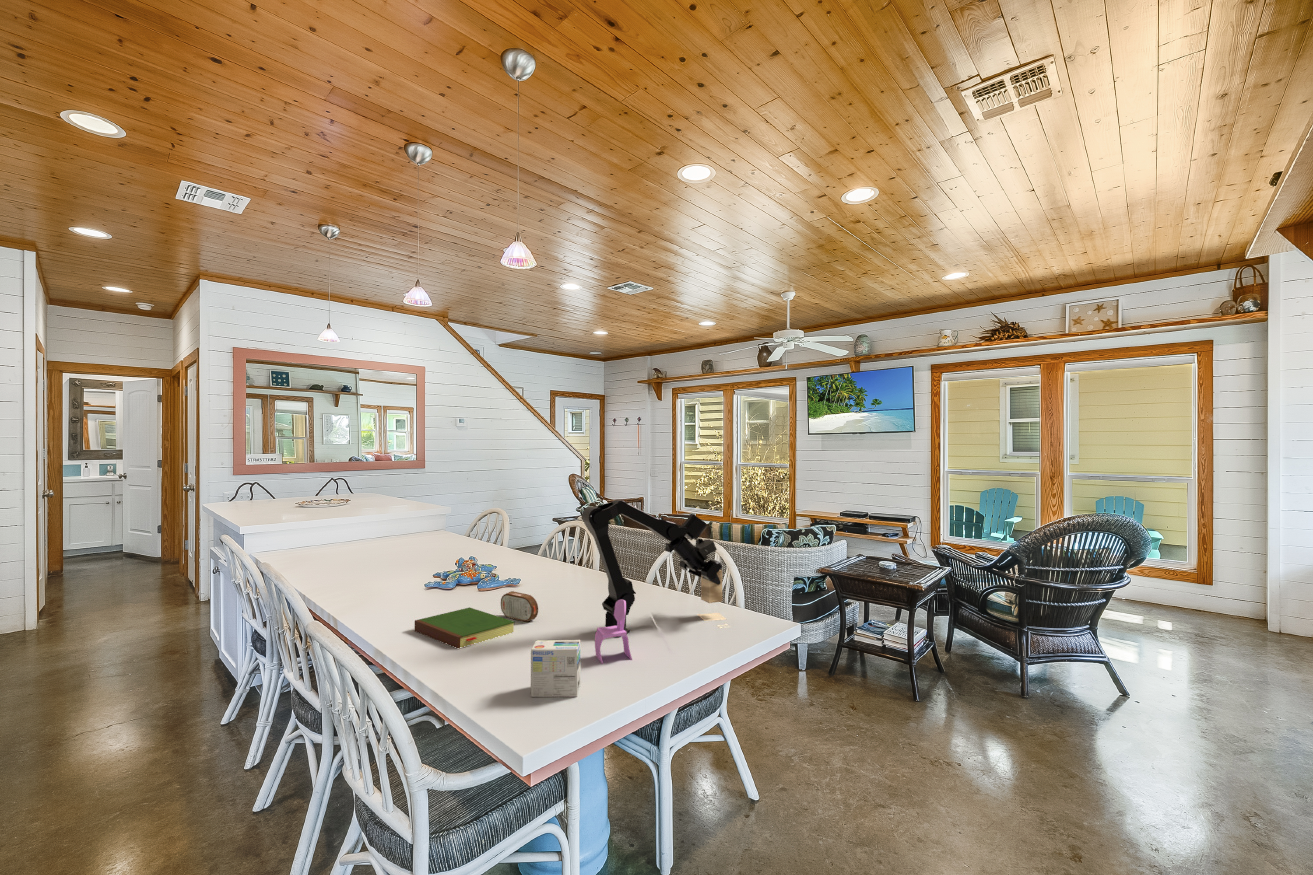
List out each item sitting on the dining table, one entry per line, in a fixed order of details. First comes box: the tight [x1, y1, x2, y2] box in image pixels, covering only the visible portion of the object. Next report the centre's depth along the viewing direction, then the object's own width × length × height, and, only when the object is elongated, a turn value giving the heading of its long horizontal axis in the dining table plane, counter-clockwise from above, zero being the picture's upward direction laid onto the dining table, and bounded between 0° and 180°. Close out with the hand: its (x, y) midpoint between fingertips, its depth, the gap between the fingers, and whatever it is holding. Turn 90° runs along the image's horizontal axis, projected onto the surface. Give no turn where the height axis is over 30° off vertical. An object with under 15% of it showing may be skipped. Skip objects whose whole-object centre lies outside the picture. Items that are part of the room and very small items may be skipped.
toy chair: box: [594, 599, 633, 665], centre depth 150 cm, size 8×9×15 cm
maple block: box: [700, 569, 723, 604], centre depth 185 cm, size 5×5×10 cm
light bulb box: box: [530, 639, 581, 698], centre depth 129 cm, size 11×7×11 cm, turn 92°
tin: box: [500, 590, 539, 623], centre depth 184 cm, size 15×3×8 cm, turn 58°
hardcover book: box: [414, 607, 516, 649], centre depth 170 cm, size 25×19×4 cm
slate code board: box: [696, 612, 731, 629], centre depth 180 cm, size 24×14×1 cm, turn 15°
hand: (715, 581), depth 186 cm, fingers closed on maple block, 5 cm apart
